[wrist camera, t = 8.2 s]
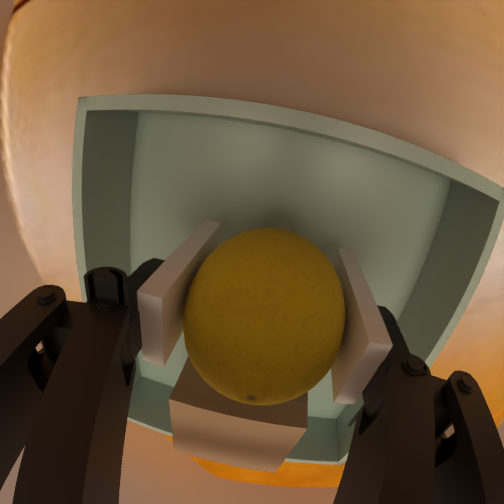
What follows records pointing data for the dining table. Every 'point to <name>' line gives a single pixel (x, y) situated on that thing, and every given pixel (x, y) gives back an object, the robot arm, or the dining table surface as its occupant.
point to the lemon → (264, 317)
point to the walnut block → (233, 425)
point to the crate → (280, 217)
